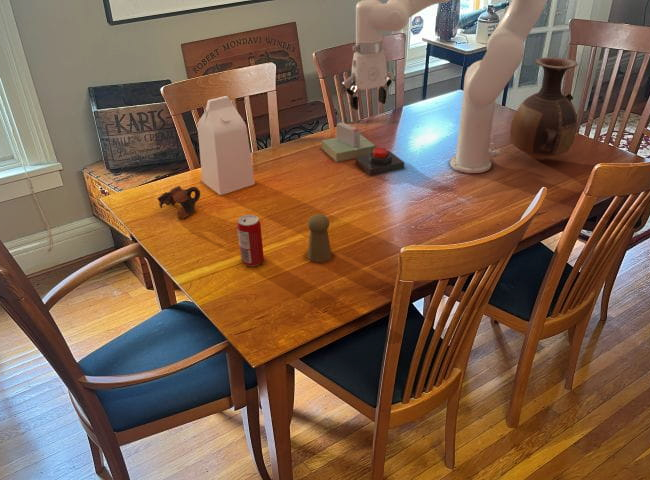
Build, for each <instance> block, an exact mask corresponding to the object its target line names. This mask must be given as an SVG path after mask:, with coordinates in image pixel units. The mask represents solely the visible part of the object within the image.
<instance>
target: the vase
mask: <svg viewBox="0 0 650 480" xmlns="http://www.w3.org/2000/svg"><path fill="white" fill-rule="evenodd" d="M534 63H535V65H537V66H539V67H542V69H543V81H542V85H541V87H540V90H539V91H538V92H536V93H533V94H531V95H529V96H528V97H526V99H524V100H523V101H522V102H521V104H519V106H518V108H517V109H516V111H515V113H514V116H513V117H512V121H511V124H510V129H509V141H510V143H511V144H512V145H513V146H514V147H515V148H516V149H518V150H520V151H522V152H523V153H525V154H527V156H529V157H531V158H532V159H534V160H541V159H545V158H550V157H554V156H559V155H563V154H565V153H567V152H568V151H569V150H570V149H571V148H572V145H573V143H574V141H575V137H576V133H577V128H578V127H577V126H578V117H577V112H576V109H575V106H574V104H573V103H572V100H574V96H573V95H572V94H571V93H568V94H567V95H563V92H562V83H563V78H564V76H565V73H566V72H567V71H568V70H569V69H573V68H576V67H577V66H579V65H578V63H577V62H576V61H574V60H573V59H568V58H564V57H557V56H554V57H553V56H552V57H551V56H550V57H549V56H548V57H540V58H536V59H535V60H534Z"/></svg>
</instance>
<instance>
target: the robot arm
mask: <svg viewBox="0 0 650 480" xmlns="http://www.w3.org/2000/svg"><path fill="white" fill-rule="evenodd" d="M451 1H452V0H387V2H386V3H382V2H381V1H380V0H360V1H358V2H357V3H356V5H355V42H354V43H355V44H354V45H352V46H351V49H352V51H353V58H352V63H351V74H350V76H349V77H347V78H346V79H345V80H344V81H342V87H343V89H344V91H345V92H346V93H347V94H348V95H349V96H350V97H349V98H350V99H349V100H350V107H351V108H352V109H353V110H354V111H358V109H359V96H358V94H359V93H360V91H366V90H367V91H368V90H372V89H377V88H378V98H377V99H378V102H379V103H381V104H383V105H384V104H385V105H386V100H387V91H388V90H389V87H390V86H391V84H392V82H393V79H394V77H395V72H391V71H389V70H387V60H386V53H385V51H384V50H383V46H382V45H383V31H386V32H400V31H402V30H403V29H405V27H406V26H407V25H408V23H409V19H410V18H412V17H413V16H415V15H416V14H418V13H420V12H421V11H423V10H425V9H427V8H429V7H431V6H434V5H436V4H446V3H449V2H451ZM546 3H547V0H511V1H510V4H509V6H508V7H507V8H506V9H507V10H506V11H505V13H504V14H503V16H502V18H501V19H500V21H499V22H498V24H497V26H496V27H495V29H494V30H493V32H492V33H491V35H490V36H489V37H488V39H487V43H486V51H485V54H484V55H483V57H482V59H480V60H477V61H474V62H473V63H472V64H471V65H470V66H469V67H468V68H467V69H466V72H465V74H464V79H463V91H462V92H463V93H462V102H461V103H462V104H461V110H460V118H459V119H460V120H459V128H458V129H459V130H458V137H457V146H456V154H455V155H454V156H453V157H452V158H451V159H450V163H449V164H450V166H451V168H452V169H454V170H456V171H458V172H461V173H466V174H481V173H486V172H487V171H489V170H490V169H491V168H492V161H491V159H492V158H495V157H500V156H501V151H500V149H496V150H493V149H492V148H489V147H490V143H491V142H490V141H491V135H492V129H493V121H494V115H495V108H496V107H495V106H496V101H497V99H498V98H499V96H500V95H501V94H502V92H503V91H504V90H505V88H506V86H507V85H508V83H509V82H510V81H511V79H512V78H513V75H515V73H516V72H517V70H518V68H519V66H520V65H521V63H522V60H523V58H524V55H525V45H524V43H525V41H526V39H527V38H528V36H529V34H530V33H531V31H532V30H533V28H534V26H535V24H536V23H537V21H538V20H539V18H540V16H541V15H542V12H543V11H544V8H545V6H546ZM354 51H355V52H354ZM350 84H351V88H350Z"/></svg>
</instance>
